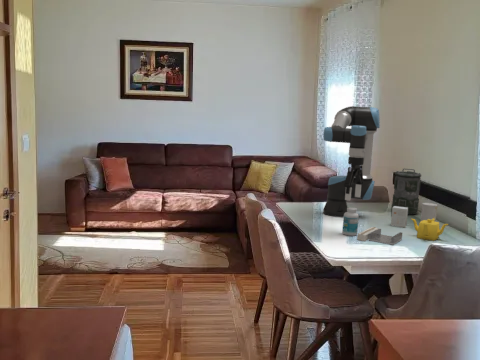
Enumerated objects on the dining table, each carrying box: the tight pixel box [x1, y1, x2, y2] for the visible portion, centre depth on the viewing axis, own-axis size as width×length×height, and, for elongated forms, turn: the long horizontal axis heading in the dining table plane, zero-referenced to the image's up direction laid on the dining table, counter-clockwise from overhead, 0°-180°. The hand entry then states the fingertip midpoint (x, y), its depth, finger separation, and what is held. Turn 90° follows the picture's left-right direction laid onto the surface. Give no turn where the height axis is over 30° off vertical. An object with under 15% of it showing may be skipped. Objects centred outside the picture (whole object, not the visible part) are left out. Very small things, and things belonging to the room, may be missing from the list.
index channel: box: [368, 228, 403, 246], centre depth 266 cm, size 12×14×4 cm
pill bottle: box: [341, 207, 359, 237], centre depth 273 cm, size 8×7×14 cm
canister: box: [391, 167, 422, 215], centre depth 341 cm, size 16×16×28 cm
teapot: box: [411, 218, 449, 242], centre depth 276 cm, size 15×14×10 cm
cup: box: [420, 202, 438, 222], centre depth 308 cm, size 8×8×12 cm
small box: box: [390, 206, 409, 228], centre depth 301 cm, size 8×6×10 cm
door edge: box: [356, 226, 380, 242], centre depth 271 cm, size 4×20×3 cm, turn 147°
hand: (352, 198), depth 272 cm, fingers open, 13 cm apart
